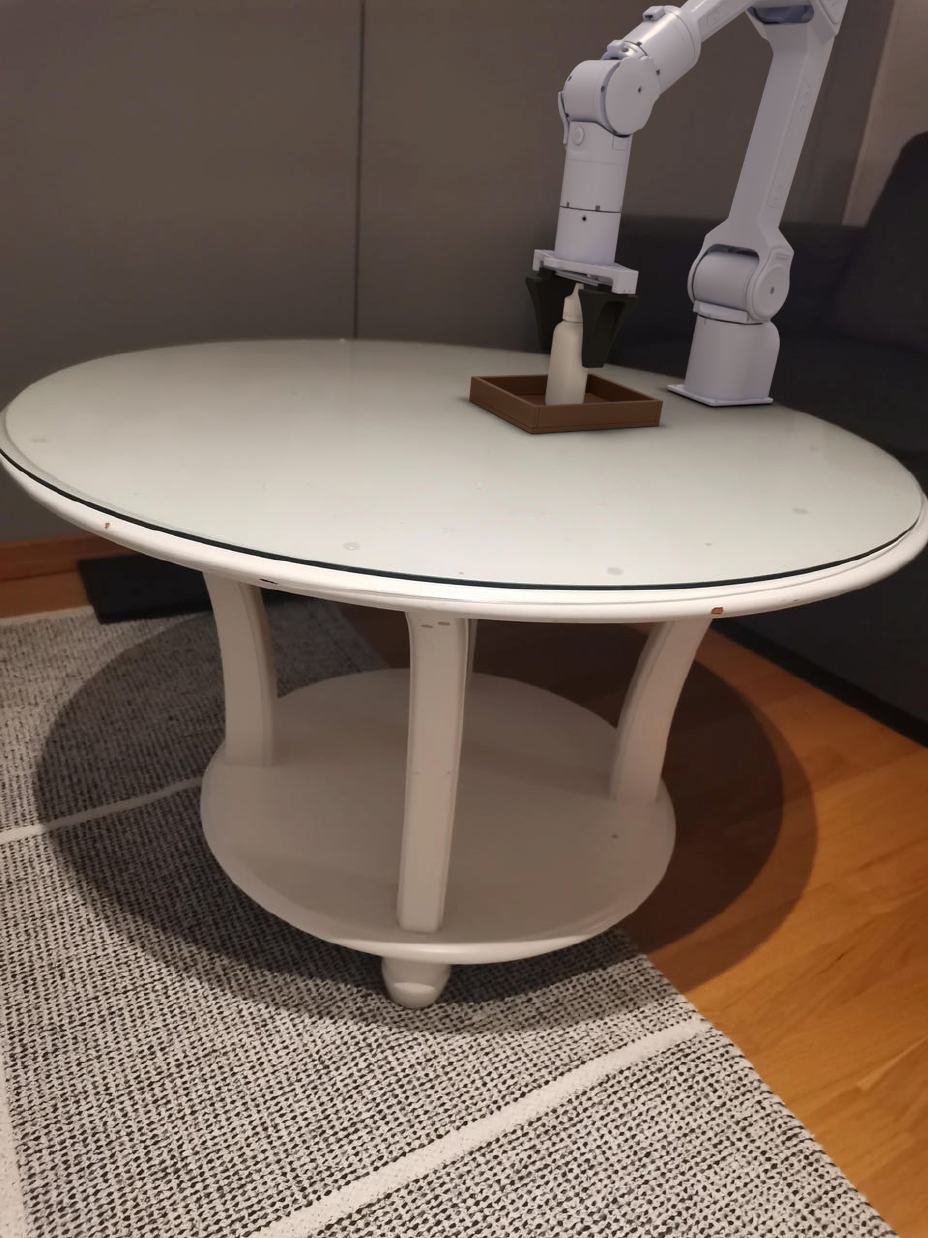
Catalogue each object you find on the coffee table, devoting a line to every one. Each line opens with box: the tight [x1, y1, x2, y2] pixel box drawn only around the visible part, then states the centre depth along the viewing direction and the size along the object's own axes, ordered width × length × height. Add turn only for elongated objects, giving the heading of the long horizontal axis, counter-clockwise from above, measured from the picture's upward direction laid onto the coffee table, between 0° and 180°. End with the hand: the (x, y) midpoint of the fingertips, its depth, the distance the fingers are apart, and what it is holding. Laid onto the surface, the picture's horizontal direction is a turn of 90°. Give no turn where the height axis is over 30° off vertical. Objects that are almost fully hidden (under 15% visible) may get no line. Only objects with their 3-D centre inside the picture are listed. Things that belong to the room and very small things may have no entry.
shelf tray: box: [468, 372, 664, 435], centre depth 95 cm, size 15×12×2 cm
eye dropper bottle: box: [545, 283, 589, 405], centre depth 93 cm, size 4×6×12 cm
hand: (570, 358), depth 93 cm, fingers open, 7 cm apart
